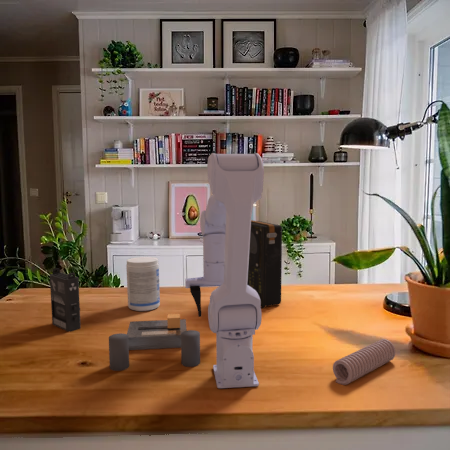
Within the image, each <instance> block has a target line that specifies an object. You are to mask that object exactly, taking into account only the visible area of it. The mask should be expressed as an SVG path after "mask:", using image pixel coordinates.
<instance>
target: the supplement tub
mask: <svg viewBox="0 0 450 450" xmlns="http://www.w3.org/2000/svg"><path fill="white" fill-rule="evenodd" d="M159 265H160V264H159V259H158V258H157V257H154V256H137V257H132V258H128V259H126V265H125V267H126V268H125V269H126V289H127V290H126V292H127V307H128V309H130V310H132V311H135V312H149V311H152V310H156V309H157V308H159V306H160V305H161V297H160V295H161V294H160V293H161V292H160V291H161V290H160V268H159V267H160V266H159Z"/></svg>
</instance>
